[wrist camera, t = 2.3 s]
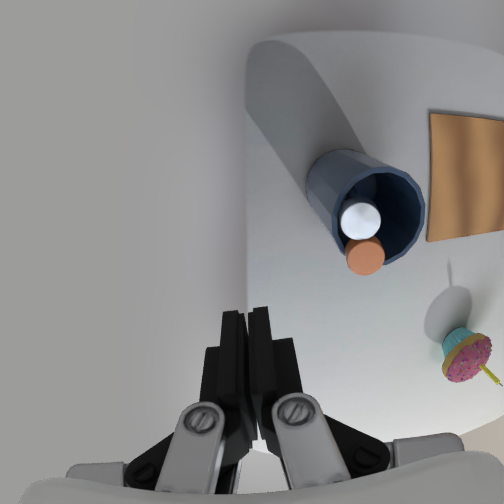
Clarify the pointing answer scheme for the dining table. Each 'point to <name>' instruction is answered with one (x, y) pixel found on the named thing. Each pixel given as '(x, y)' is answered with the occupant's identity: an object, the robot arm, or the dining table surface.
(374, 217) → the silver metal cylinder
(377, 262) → the tan cylinder
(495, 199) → the placemat
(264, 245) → the dining table surface
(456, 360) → the cupcake
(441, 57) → the dining table surface
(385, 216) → the cup
